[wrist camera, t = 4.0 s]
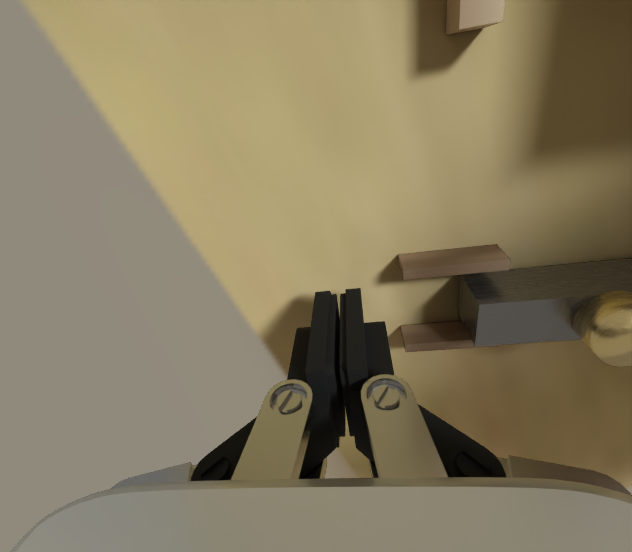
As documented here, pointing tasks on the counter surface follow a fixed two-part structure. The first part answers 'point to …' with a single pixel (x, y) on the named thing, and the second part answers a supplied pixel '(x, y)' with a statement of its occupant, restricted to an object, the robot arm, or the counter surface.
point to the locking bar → (553, 306)
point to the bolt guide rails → (472, 14)
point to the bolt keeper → (446, 265)
